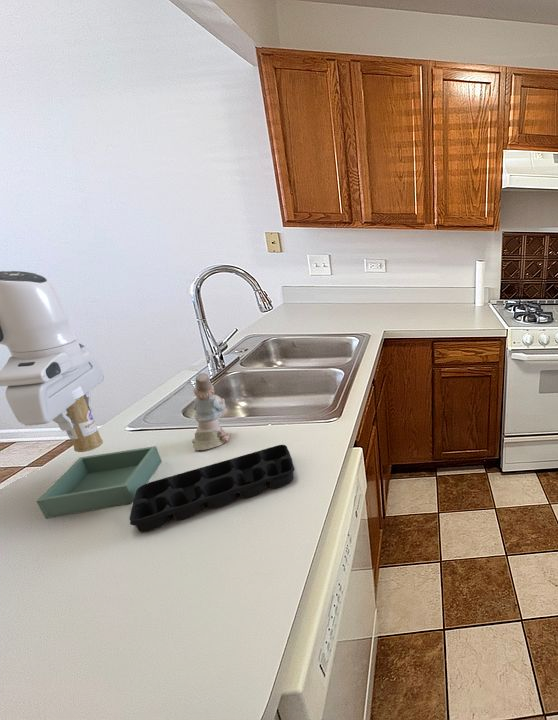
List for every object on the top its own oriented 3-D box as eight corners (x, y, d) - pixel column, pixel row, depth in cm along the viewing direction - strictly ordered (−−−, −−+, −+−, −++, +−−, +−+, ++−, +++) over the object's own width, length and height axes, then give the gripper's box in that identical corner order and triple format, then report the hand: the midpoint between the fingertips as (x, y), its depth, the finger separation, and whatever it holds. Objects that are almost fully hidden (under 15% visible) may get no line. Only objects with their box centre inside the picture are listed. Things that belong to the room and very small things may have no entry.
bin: (45, 518, 78) (35, 501, 77) (87, 473, 91) (79, 457, 90) (133, 502, 82) (126, 485, 81) (161, 461, 95) (156, 445, 94)
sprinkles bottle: (104, 447, 83) (80, 389, 78) (74, 456, 80) (47, 396, 75) (103, 438, 86) (80, 382, 81) (74, 446, 83) (48, 388, 78)
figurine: (226, 448, 100) (205, 377, 92) (188, 453, 98) (164, 380, 90) (237, 430, 108) (219, 362, 100) (203, 433, 106) (181, 365, 98)
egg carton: (128, 505, 82) (121, 491, 80) (278, 445, 101) (275, 433, 100) (140, 556, 70) (133, 540, 69) (307, 477, 90) (304, 464, 88)
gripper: (63, 341, 83) (87, 399, 88) (-14, 382, 65) (22, 452, 71) (100, 339, 85) (121, 396, 90) (35, 377, 67) (66, 446, 72)
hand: (77, 421), depth 80 cm, fingers closed on sprinkles bottle, 4 cm apart
